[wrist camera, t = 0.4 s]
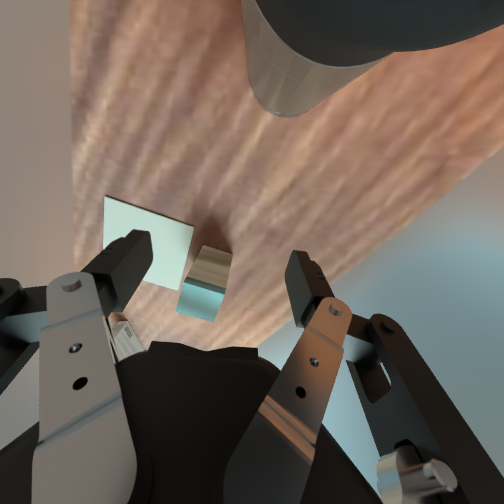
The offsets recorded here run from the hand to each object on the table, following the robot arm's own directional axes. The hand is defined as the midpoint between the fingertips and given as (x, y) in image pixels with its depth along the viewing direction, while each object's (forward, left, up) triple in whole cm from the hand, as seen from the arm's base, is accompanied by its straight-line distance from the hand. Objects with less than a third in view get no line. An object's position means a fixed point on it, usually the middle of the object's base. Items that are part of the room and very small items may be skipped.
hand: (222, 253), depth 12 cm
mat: (+14, -11, -19) cm, 26 cm away
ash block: (+13, 0, -19) cm, 23 cm away
